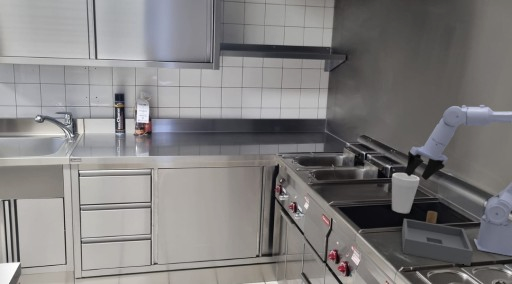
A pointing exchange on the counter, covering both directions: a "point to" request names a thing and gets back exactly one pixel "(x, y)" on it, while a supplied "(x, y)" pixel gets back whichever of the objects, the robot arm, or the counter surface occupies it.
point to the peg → (431, 217)
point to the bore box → (436, 242)
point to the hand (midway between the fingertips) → (415, 176)
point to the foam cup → (403, 191)
